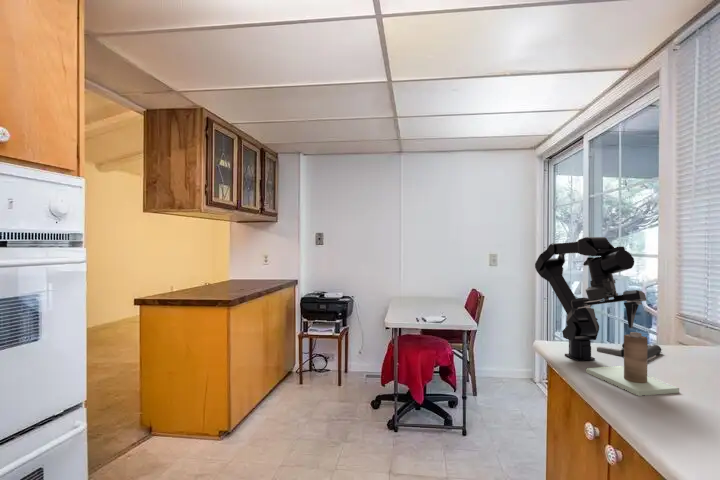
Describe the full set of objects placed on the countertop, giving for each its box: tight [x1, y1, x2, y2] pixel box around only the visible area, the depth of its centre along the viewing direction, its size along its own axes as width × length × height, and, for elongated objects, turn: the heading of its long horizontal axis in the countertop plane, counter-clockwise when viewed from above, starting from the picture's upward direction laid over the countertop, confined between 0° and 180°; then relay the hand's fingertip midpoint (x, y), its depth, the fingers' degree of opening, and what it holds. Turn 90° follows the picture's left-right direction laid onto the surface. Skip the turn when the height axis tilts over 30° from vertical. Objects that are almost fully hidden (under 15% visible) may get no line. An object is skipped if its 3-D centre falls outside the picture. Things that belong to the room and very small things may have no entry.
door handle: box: [596, 342, 663, 362], centre depth 138 cm, size 3×20×16 cm
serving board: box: [585, 365, 680, 397], centre depth 112 cm, size 18×12×1 cm, turn 10°
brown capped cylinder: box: [623, 331, 648, 383], centre depth 110 cm, size 5×5×12 cm
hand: (613, 329), depth 119 cm, fingers open, 9 cm apart
